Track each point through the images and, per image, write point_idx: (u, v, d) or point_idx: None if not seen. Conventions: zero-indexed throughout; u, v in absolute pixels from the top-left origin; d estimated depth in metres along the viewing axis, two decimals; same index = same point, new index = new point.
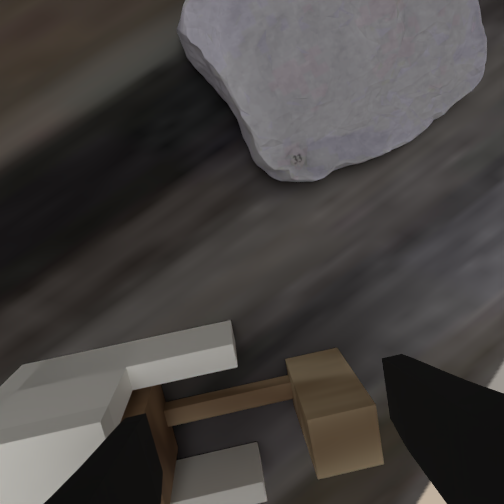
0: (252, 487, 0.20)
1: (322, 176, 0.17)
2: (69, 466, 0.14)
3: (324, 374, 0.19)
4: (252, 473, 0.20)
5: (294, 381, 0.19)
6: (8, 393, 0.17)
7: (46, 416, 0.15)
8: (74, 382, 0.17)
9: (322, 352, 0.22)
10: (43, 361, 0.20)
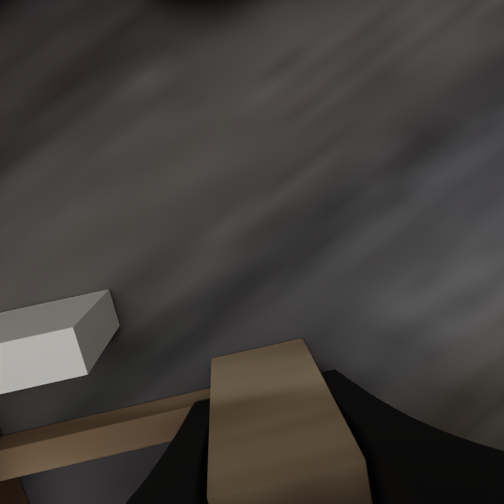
0: None
1: None
2: None
3: (270, 388, 0.10)
4: None
5: (212, 400, 0.10)
6: None
7: None
8: None
9: (276, 346, 0.12)
10: None
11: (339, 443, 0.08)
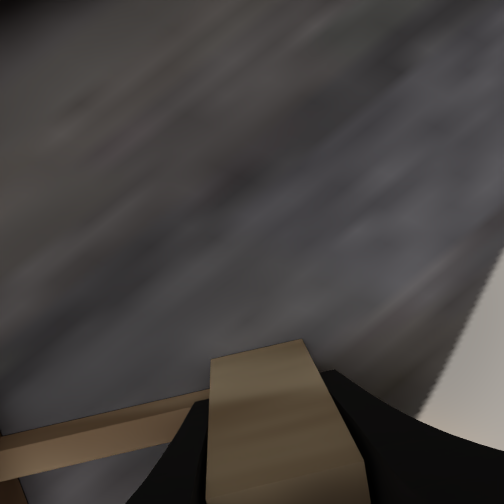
0: None
1: None
2: None
3: (269, 388, 0.10)
4: None
5: (211, 401, 0.10)
6: None
7: None
8: None
9: (275, 347, 0.12)
10: None
11: (338, 444, 0.08)
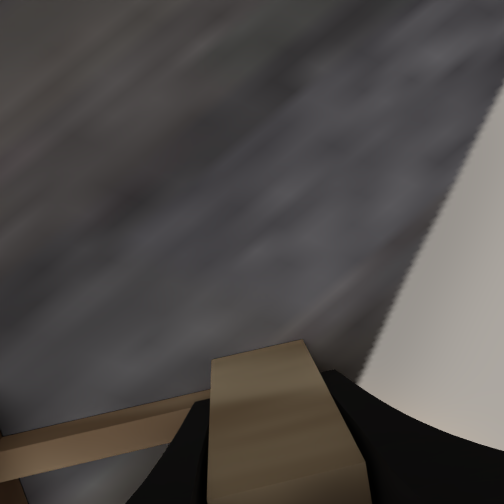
0: None
1: None
2: None
3: (270, 389, 0.10)
4: None
5: (212, 402, 0.10)
6: None
7: None
8: None
9: (276, 347, 0.12)
10: None
11: (339, 445, 0.08)
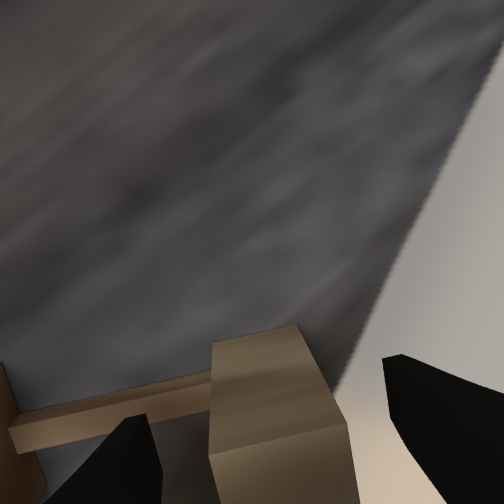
0: None
1: None
2: None
3: (265, 366, 0.11)
4: None
5: (213, 378, 0.11)
6: None
7: None
8: None
9: (272, 331, 0.13)
10: None
11: (325, 410, 0.09)
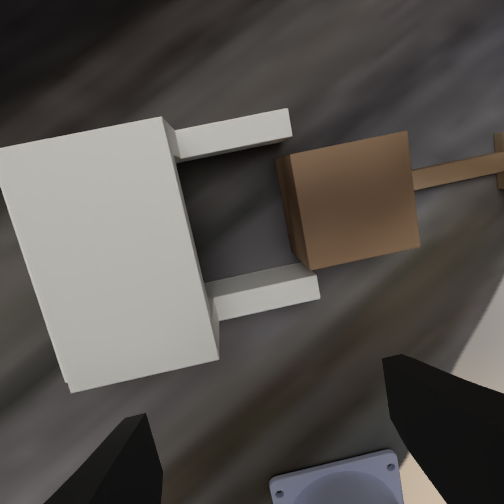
0: (305, 281, 0.19)
1: None
2: (127, 170, 0.13)
3: None
4: (303, 273, 0.19)
5: None
6: None
7: None
8: None
9: None
10: None
11: None
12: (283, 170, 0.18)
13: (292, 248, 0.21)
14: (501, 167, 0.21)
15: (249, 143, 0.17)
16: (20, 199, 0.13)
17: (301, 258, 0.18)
